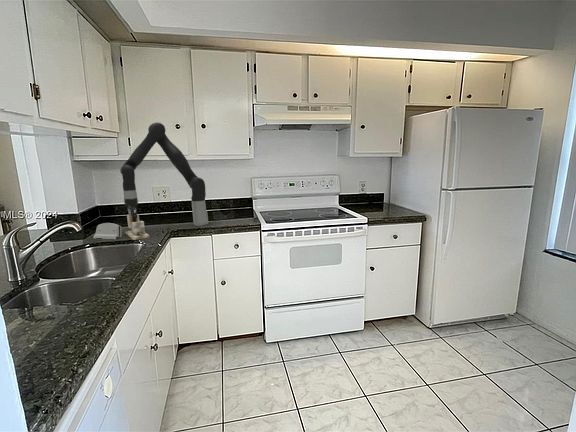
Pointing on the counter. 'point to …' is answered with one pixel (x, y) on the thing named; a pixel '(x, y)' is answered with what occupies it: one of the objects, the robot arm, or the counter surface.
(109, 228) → the grey rounded block
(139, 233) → the beige hat shape
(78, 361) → the counter surface
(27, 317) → the counter surface
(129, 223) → the cream upright block
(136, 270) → the counter surface
